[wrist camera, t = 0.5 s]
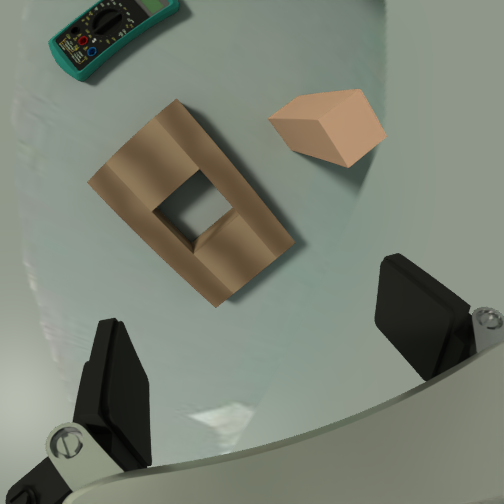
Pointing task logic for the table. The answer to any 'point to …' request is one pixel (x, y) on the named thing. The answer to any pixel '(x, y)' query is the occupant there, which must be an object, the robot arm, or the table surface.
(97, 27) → the digital multimeter
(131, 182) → the wooden peg hole block
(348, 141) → the square peg
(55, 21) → the table surface
